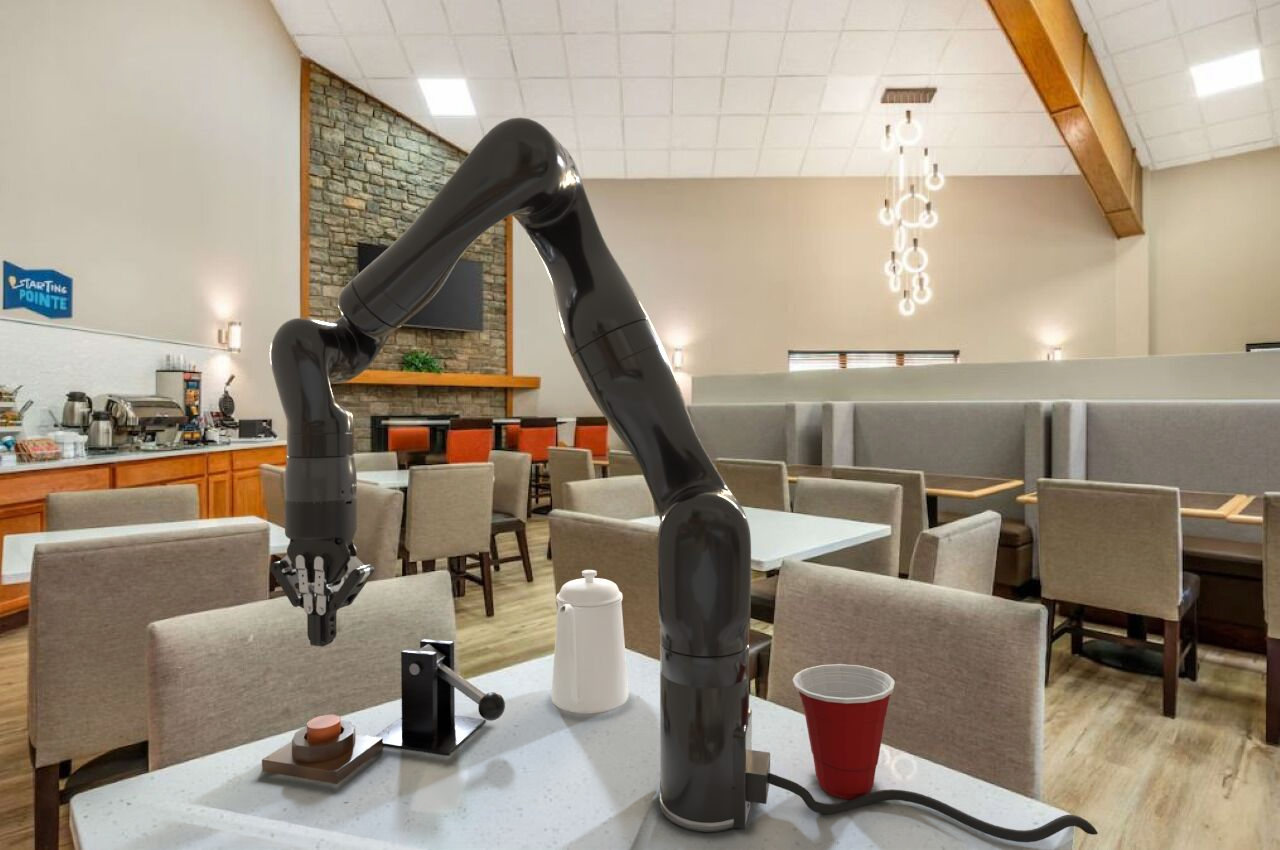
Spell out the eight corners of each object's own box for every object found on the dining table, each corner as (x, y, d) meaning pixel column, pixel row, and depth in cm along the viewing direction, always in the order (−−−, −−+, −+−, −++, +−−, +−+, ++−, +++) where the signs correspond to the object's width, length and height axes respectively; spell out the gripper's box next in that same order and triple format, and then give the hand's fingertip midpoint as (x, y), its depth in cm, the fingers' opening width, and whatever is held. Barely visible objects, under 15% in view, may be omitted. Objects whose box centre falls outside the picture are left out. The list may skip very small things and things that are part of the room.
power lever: (502, 718, 84) (513, 697, 83) (490, 730, 81) (501, 708, 80) (421, 660, 87) (432, 639, 86) (406, 669, 84) (417, 648, 83)
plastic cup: (813, 750, 82) (814, 652, 82) (906, 778, 76) (906, 672, 75) (776, 790, 73) (776, 681, 73) (877, 826, 67) (878, 706, 67)
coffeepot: (519, 742, 84) (518, 592, 83) (577, 667, 108) (577, 551, 108) (604, 751, 82) (603, 597, 81) (644, 672, 106) (643, 554, 106)
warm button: (347, 731, 79) (347, 716, 79) (325, 745, 76) (325, 730, 76) (322, 727, 80) (322, 712, 80) (299, 741, 77) (299, 726, 77)
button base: (383, 755, 81) (383, 722, 81) (336, 792, 73) (336, 755, 73) (313, 744, 84) (313, 713, 83) (261, 778, 76) (261, 743, 76)
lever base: (485, 728, 88) (485, 638, 87) (448, 763, 79) (447, 663, 79) (412, 718, 91) (411, 631, 90) (368, 750, 82) (367, 654, 82)
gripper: (248, 496, 76) (249, 649, 76) (347, 501, 72) (348, 661, 73) (298, 489, 83) (299, 628, 83) (391, 493, 79) (391, 638, 80)
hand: (322, 643), depth 78 cm, fingers closed
